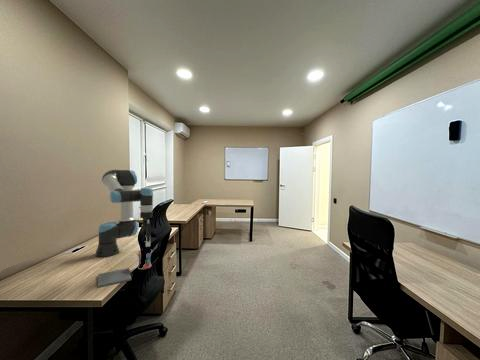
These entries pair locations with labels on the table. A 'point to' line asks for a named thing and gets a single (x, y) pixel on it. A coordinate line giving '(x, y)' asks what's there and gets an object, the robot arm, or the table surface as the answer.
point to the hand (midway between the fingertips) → (146, 243)
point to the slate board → (113, 277)
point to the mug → (147, 261)
